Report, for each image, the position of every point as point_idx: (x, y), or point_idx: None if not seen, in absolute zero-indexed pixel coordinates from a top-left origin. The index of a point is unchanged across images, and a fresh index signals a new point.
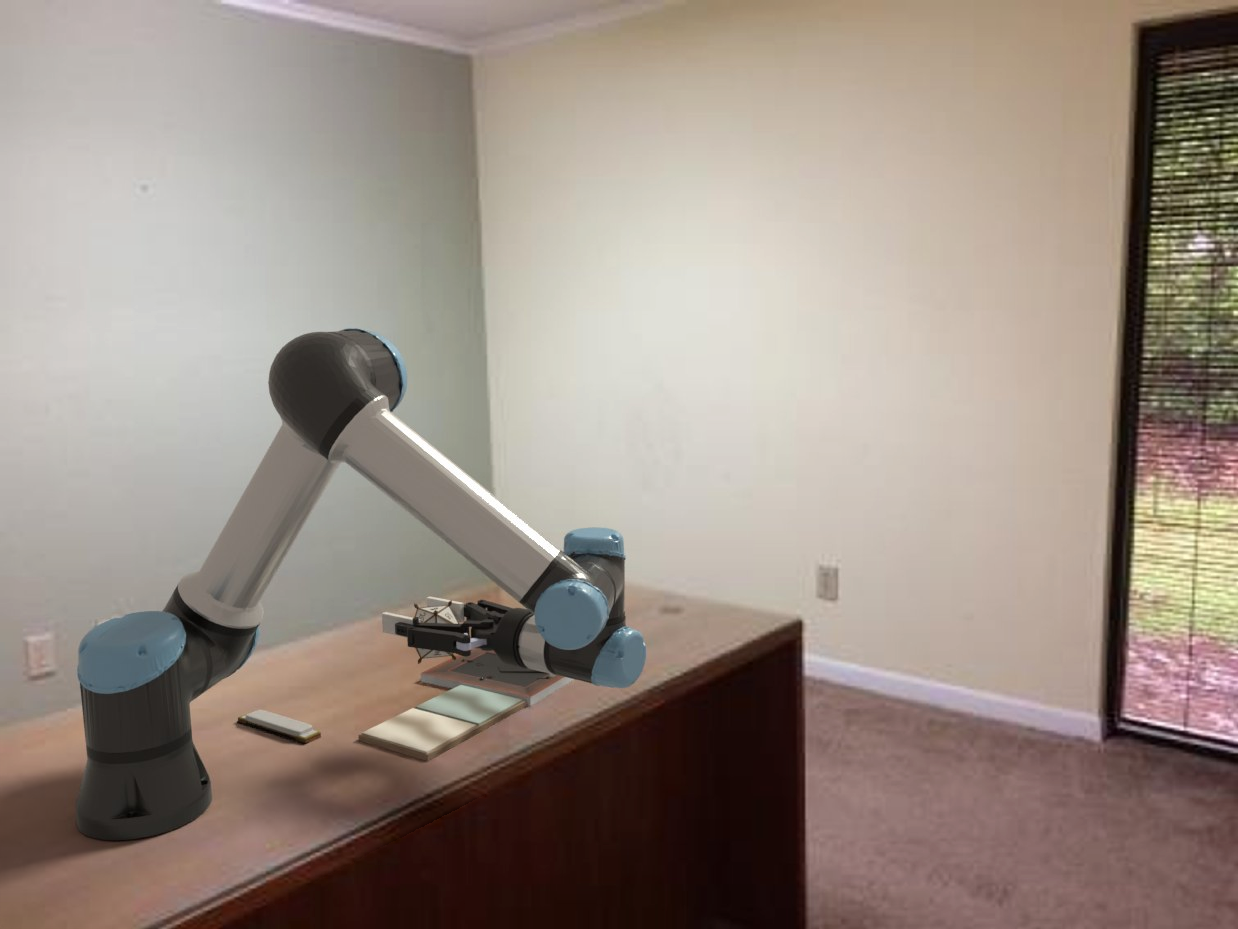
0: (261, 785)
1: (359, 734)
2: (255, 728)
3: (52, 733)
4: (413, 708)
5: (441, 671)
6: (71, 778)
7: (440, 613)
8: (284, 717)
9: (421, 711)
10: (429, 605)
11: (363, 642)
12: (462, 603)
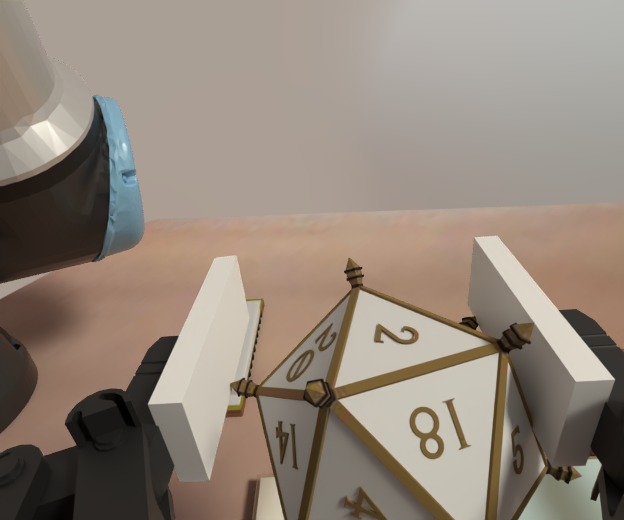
0: None
1: (260, 475)
2: None
3: (151, 236)
4: None
5: None
6: (47, 302)
7: (378, 396)
8: (247, 339)
9: None
10: (475, 274)
11: (534, 234)
12: (601, 380)
